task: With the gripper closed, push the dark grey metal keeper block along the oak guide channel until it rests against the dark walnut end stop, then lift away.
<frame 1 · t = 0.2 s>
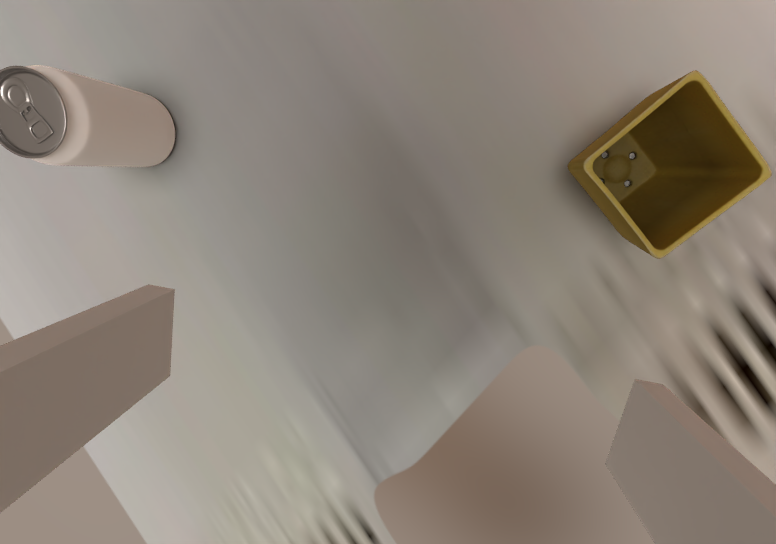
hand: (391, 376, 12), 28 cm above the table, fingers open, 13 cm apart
flower pot: (615, 170, 36), on the table
can: (145, 131, 39), on the table
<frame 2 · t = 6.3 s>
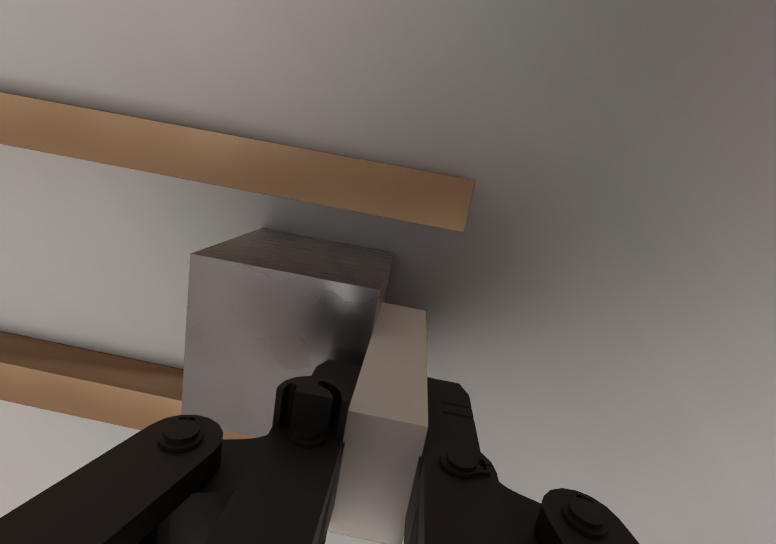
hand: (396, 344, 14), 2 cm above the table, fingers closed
oak track: (109, 262, 17), on the table
keeper: (318, 303, 16), on the table, touching gripper
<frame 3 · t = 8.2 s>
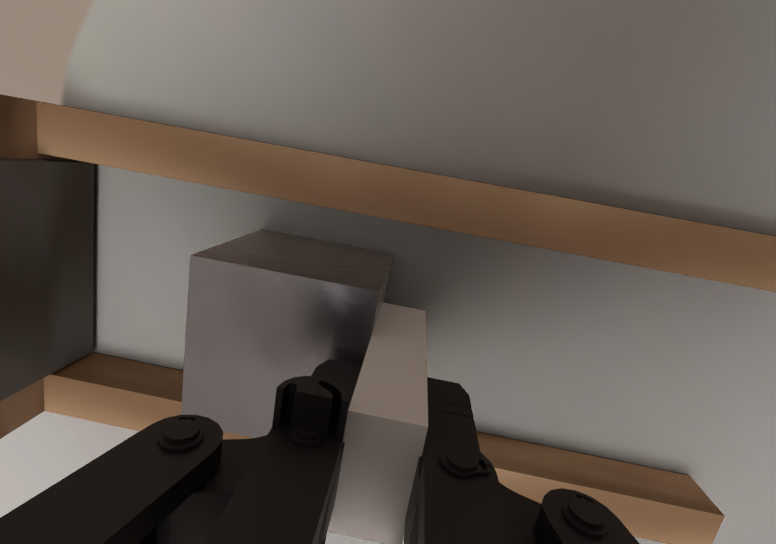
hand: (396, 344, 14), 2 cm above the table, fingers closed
oak track: (383, 317, 16), on the table
keeper: (318, 304, 16), on the table, touching gripper
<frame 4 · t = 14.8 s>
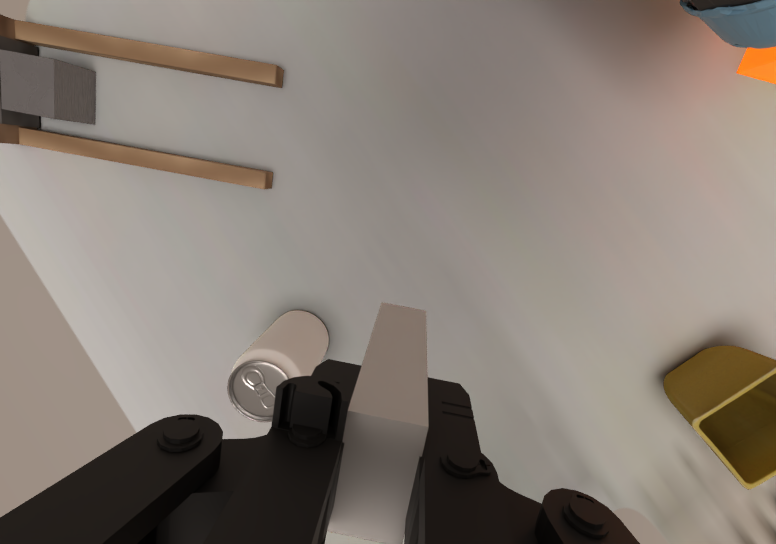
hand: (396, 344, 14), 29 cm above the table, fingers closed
flower pot: (697, 377, 44), on the table
oak track: (150, 108, 42), on the table
keeper: (72, 94, 42), on the table
can: (301, 336, 47), on the table
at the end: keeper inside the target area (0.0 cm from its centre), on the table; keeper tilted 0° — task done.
